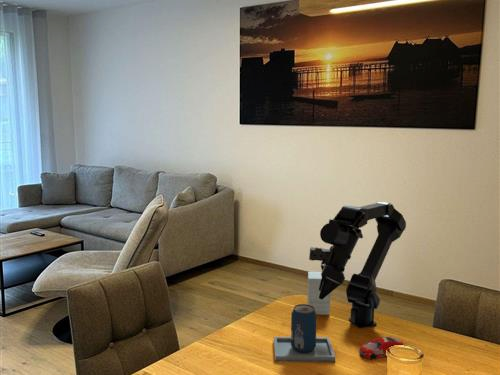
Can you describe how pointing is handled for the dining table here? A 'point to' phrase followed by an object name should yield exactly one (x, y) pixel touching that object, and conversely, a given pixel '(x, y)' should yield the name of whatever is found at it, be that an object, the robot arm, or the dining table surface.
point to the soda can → (303, 328)
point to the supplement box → (317, 294)
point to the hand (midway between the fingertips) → (320, 294)
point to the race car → (378, 347)
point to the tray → (287, 354)
